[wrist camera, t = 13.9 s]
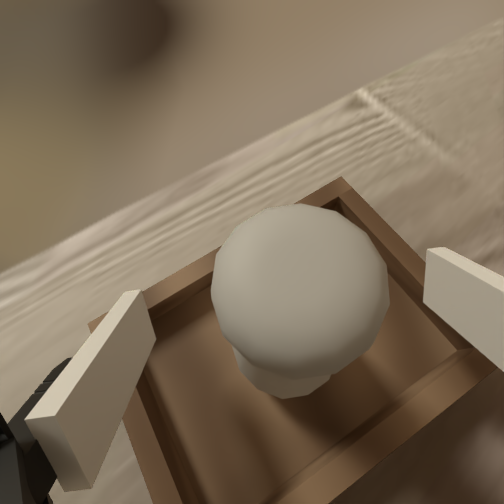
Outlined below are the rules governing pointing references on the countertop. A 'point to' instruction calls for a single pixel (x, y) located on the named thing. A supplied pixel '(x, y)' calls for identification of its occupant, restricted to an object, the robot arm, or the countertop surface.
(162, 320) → the walnut tray
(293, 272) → the salt shaker
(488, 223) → the countertop surface
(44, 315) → the countertop surface
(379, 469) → the countertop surface
